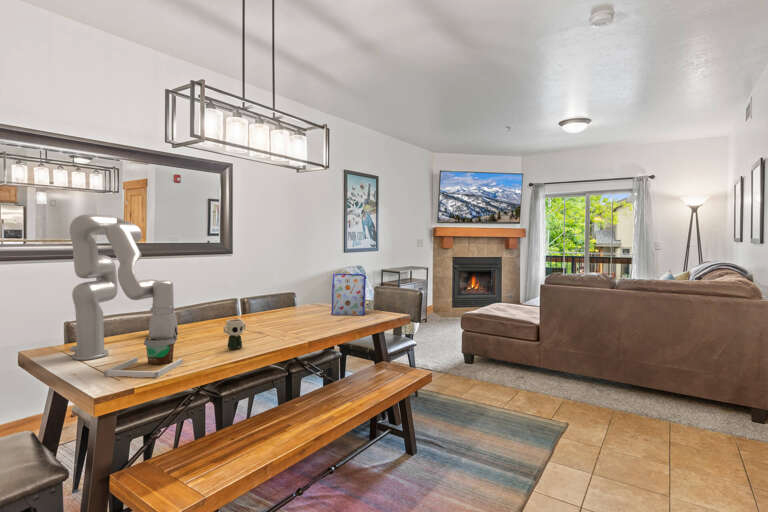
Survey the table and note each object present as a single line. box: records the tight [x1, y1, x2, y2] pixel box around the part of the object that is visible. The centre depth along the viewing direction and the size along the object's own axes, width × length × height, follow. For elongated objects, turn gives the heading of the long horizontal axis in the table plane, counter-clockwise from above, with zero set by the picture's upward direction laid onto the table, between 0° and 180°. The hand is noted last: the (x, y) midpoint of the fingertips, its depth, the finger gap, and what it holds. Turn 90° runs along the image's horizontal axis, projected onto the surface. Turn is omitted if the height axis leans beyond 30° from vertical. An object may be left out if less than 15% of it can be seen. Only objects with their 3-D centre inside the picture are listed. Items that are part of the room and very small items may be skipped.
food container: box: [143, 336, 176, 366], centre depth 168 cm, size 12×6×10 cm, turn 85°
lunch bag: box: [330, 272, 367, 316], centre depth 280 cm, size 23×17×27 cm
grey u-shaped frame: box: [104, 356, 184, 378], centre depth 161 cm, size 20×17×2 cm
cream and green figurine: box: [223, 318, 246, 350], centre depth 192 cm, size 11×7×13 cm, turn 141°
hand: (164, 355), depth 173 cm, fingers closed
